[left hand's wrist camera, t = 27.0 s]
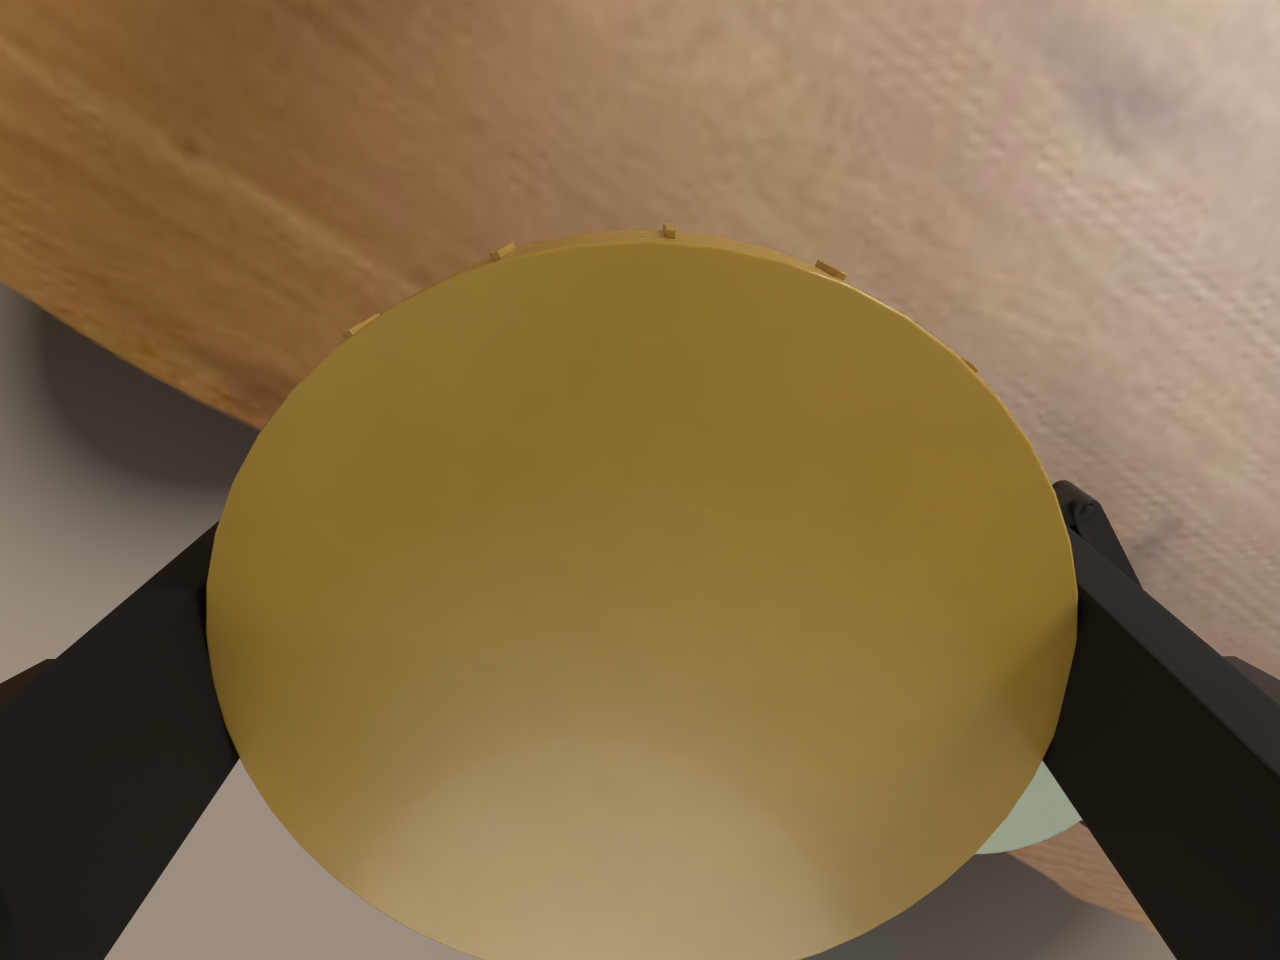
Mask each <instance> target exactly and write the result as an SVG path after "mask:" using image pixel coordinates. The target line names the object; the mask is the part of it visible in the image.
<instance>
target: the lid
mask: <svg viewBox="0 0 1280 960" xmlns="http://www.w3.org/2000/svg"><path fill="white" fill-rule="evenodd" d="M490 256H491V257H490V258H487V259H484V260H481V261H479V262H476V263H473V264H471V265H470V266H468V267H466V268H464V269H462V270H460V271H458V272H456V273H454V274H452V275H450V276H448V277H446V278H444V279H442V280H440V281H438V282H436V283H434V284H432V285H430V286H428V287H426V288H424V289H423V290H421V291H419V292H417V293H416V294H414V295H412V296H410V297H409V298H407V299H405V300H403V301H402V302H400V303H398V304H396V305H395V306H393V307H391V308H389V309H388V310H387V311H385V312H384V313H382V314H381V315H379V314H378V313H377V314H375V315H374V316H372V317H370V318H368V319H367V320H365V321H363V322H361V323H359V324H358V325H356V326H354V327H352V328H351V329H349V330H347V331H346V332H345V333H344V334H343V336H344V337H345V338H346V340H344V341H343V342H342V343H340V344H339V345H337V346H336V347H335V348H334V349H333V350H332V351H331V352H330V353H329V354H328V355H327V356H326V357H325V358H324V359H323V360H322V361H321V362H320V363H319V364H318V365H317V366H316V367H315V368H314V369H313V370H311V371H310V372H309V373H308V374H307V375H306V376H305V377H304V378H303V379H302V380H301V381H300V382H299V383H298V384H297V385H296V386H295V387H294V388H293V389H292V391H291V392H290V393H289V395H288V396H287V397H286V399H285V400H284V401H283V403H282V404H281V405H280V406H279V408H278V409H277V410H276V412H275V413H274V414H273V416H272V417H271V418H270V420H269V421H268V422H267V424H266V425H265V426H264V427H263V429H262V430H261V431H260V433H259V435H258V436H257V438H256V440H255V442H254V444H253V446H252V447H251V450H250V451H249V453H248V455H247V457H246V459H245V461H244V463H243V464H242V466H241V468H240V470H239V472H238V474H237V475H236V477H235V479H234V481H233V483H232V486H231V489H230V492H229V495H228V498H227V501H226V504H225V506H224V509H223V512H222V515H221V518H220V521H219V524H218V527H217V529H216V533H215V538H214V544H213V550H212V555H211V561H210V567H209V573H208V578H207V585H206V639H207V646H208V653H209V660H210V667H211V672H212V676H213V681H214V685H215V689H216V693H217V697H218V701H219V705H220V709H221V712H222V715H223V719H224V722H225V726H226V729H227V731H228V733H229V735H230V737H231V739H232V742H233V744H234V746H235V748H236V750H237V752H238V755H239V757H240V759H241V761H242V763H243V765H244V768H245V770H246V771H247V773H248V775H249V776H250V778H251V779H252V781H253V783H254V784H255V786H256V787H257V789H258V791H259V792H260V794H261V795H262V797H263V798H264V800H265V802H266V803H267V805H268V806H269V808H270V809H271V811H272V812H273V813H274V814H275V816H276V817H277V818H278V819H279V820H280V822H281V823H282V824H283V825H284V826H285V828H286V829H287V830H288V831H289V832H290V834H291V835H292V836H293V837H294V839H295V840H296V841H297V842H298V843H299V844H300V846H301V847H302V848H303V849H304V850H305V851H307V852H308V853H309V854H310V855H311V856H312V857H313V858H314V859H315V860H316V861H317V862H318V863H319V864H320V865H321V866H322V867H323V868H324V869H326V870H327V871H328V872H329V873H330V874H331V875H332V876H333V877H334V878H335V879H336V880H338V881H339V882H340V883H342V884H343V885H344V886H346V887H347V888H348V889H350V890H351V891H352V892H354V893H355V894H356V895H358V896H359V897H360V898H362V899H363V900H364V901H366V902H367V903H368V904H370V905H371V906H372V907H374V908H376V909H378V910H379V911H381V912H383V913H384V914H386V915H388V916H389V917H391V918H393V919H394V920H396V921H398V922H399V923H401V924H403V925H404V926H406V927H408V928H409V929H411V930H413V931H415V932H417V933H420V934H422V935H424V936H426V937H428V938H430V939H433V940H435V941H437V942H439V943H441V944H443V945H445V946H448V947H450V948H452V949H454V950H457V951H460V952H462V953H465V954H468V955H471V956H474V957H477V958H480V959H483V960H801V959H804V958H807V957H810V956H813V955H816V954H819V953H822V952H824V951H826V950H828V949H831V948H833V947H835V946H837V945H840V944H842V943H844V942H847V941H849V940H851V939H853V938H856V937H858V936H860V935H862V934H864V933H866V932H868V931H870V930H871V929H873V928H875V927H877V926H878V925H880V924H882V923H884V922H886V921H887V920H889V919H891V918H893V917H894V916H896V915H898V914H899V913H901V912H903V911H905V910H906V909H907V908H909V907H910V906H912V905H913V904H914V903H916V902H917V901H919V900H920V899H921V898H923V897H924V896H925V895H927V894H928V893H930V892H931V891H932V890H934V889H935V888H937V887H938V886H939V885H941V884H942V883H943V882H944V881H945V880H947V879H948V878H949V877H950V876H951V875H952V874H953V873H954V872H955V871H957V870H958V869H959V868H960V867H961V866H962V865H963V864H964V863H965V862H966V861H968V860H969V859H970V858H971V857H972V856H973V855H974V854H975V853H976V852H977V851H978V850H979V849H980V848H981V847H982V846H983V844H984V843H985V842H986V841H987V840H988V839H989V838H990V836H991V835H992V834H993V833H994V832H995V831H996V830H997V828H998V827H999V826H1000V825H1001V824H1002V823H1003V821H1004V820H1005V819H1006V818H1007V817H1008V815H1009V814H1010V812H1011V811H1012V809H1013V808H1014V806H1015V805H1016V803H1017V802H1018V800H1019V799H1020V797H1021V796H1022V794H1023V793H1024V791H1025V790H1026V788H1027V787H1028V786H1029V784H1030V783H1031V781H1032V780H1033V778H1034V776H1035V774H1036V772H1037V770H1038V768H1039V766H1040V764H1041V762H1042V760H1043V758H1044V756H1045V754H1046V752H1047V750H1048V748H1049V746H1050V744H1051V742H1052V739H1053V737H1054V734H1055V730H1056V727H1057V723H1058V719H1059V715H1060V711H1061V707H1062V702H1063V698H1064V694H1065V689H1066V685H1067V681H1068V677H1069V672H1070V668H1071V664H1072V660H1073V655H1074V651H1075V646H1076V641H1077V625H1078V590H1077V583H1076V576H1075V569H1074V562H1073V555H1072V548H1071V541H1070V538H1069V535H1068V532H1067V529H1066V525H1065V522H1064V519H1063V516H1062V512H1061V509H1060V506H1059V503H1058V500H1057V496H1056V493H1055V491H1054V489H1053V487H1052V485H1051V483H1050V481H1049V478H1048V476H1047V474H1046V472H1045V470H1044V468H1043V466H1042V464H1041V462H1040V460H1039V458H1038V456H1037V454H1036V452H1035V450H1034V448H1033V446H1032V444H1031V442H1030V441H1029V440H1028V438H1027V437H1026V435H1025V434H1024V432H1023V431H1022V430H1021V428H1020V427H1019V425H1018V424H1017V423H1016V421H1015V420H1014V418H1013V417H1012V416H1011V414H1010V413H1009V411H1008V410H1007V409H1006V407H1005V406H1004V404H1003V403H1002V402H1001V400H1000V399H999V397H998V396H997V395H996V394H995V393H994V392H993V391H992V390H991V389H990V388H989V387H988V386H987V385H986V384H985V383H984V382H983V381H982V380H981V379H980V378H979V377H978V375H977V374H976V372H977V371H978V369H977V368H976V367H975V366H974V365H973V364H971V363H970V362H968V361H966V360H965V359H963V358H961V357H960V356H958V355H957V354H956V353H955V352H954V351H952V350H951V349H950V348H948V347H947V346H946V345H944V344H943V343H942V342H940V341H939V340H938V339H936V338H935V337H934V336H932V335H931V334H930V333H928V332H927V331H926V330H924V329H923V328H922V327H920V326H919V325H918V324H916V323H915V322H914V321H912V320H911V319H910V318H909V317H907V316H906V315H904V314H903V313H901V312H899V311H897V310H895V309H894V308H892V307H890V306H888V305H887V304H885V303H883V302H881V301H880V300H878V299H876V298H874V297H872V296H871V295H869V294H867V293H865V292H863V291H862V290H860V289H858V288H856V287H854V286H852V285H851V284H849V283H847V282H845V281H844V279H845V277H846V273H844V272H842V271H840V270H838V269H836V268H834V267H833V266H831V265H829V264H827V263H825V262H823V261H821V260H818V261H817V263H816V265H815V266H814V265H812V264H809V263H806V262H804V261H801V260H798V259H796V258H793V257H790V256H788V255H785V254H782V253H780V252H777V251H774V250H772V249H769V248H766V247H763V246H758V245H754V244H749V243H745V242H740V241H736V240H731V239H727V238H723V237H718V236H714V235H709V234H700V233H688V232H676V230H675V228H674V226H673V224H672V223H664V225H663V230H651V229H642V230H624V231H606V232H588V233H583V234H578V235H573V236H568V237H562V238H557V239H552V240H547V241H542V242H537V243H532V244H528V245H525V246H522V247H519V248H516V249H515V246H514V243H513V242H510V243H507V244H505V245H503V246H501V247H500V248H498V249H496V250H495V251H493V252H491V253H490Z"/></svg>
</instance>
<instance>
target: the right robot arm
mask: <svg viewBox="0 0 1280 960" xmlns="http://www.w3.org/2000/svg"><path fill="white" fill-rule="evenodd" d="M1052 487H1053V489H1054V491H1055V493H1056V496H1057V500H1058V503H1059V506H1060V509H1061V512H1062V516H1063V519H1064V522H1065V524H1066V525H1067V526H1068V527H1070V528H1071V529H1072V530H1073V531H1074V532H1075V533H1077V534H1078V535H1079V536H1080V537H1081V538H1083V539H1084V540H1085V541H1086V542H1087V543H1088V544H1090V545H1091V546H1092V547H1093V548H1094V549H1096V550H1097V551H1098V552H1099V553H1100V554H1101V555H1103V556H1104V557H1105V558H1106V559H1107V560H1109V561H1110V562H1111V563H1112V564H1113V565H1114V566H1116V567H1117V568H1118V569H1119V570H1120V571H1122V572H1123V573H1124V574H1125V575H1126V576H1127V577H1129V578H1130V579H1131V580H1132V581H1133V582H1135V583H1136V584H1137V585H1138V586H1139V587H1140V588H1142V586H1141V584H1140V582H1139V580H1138V578H1137V576H1136V574H1135V572H1134V570H1133V568H1132V566H1131V564H1130V562H1129V560H1128V559H1127V557H1126V555H1125V553H1124V551H1123V549H1122V547H1121V545H1120V543H1119V541H1118V539H1117V537H1116V535H1115V533H1114V531H1113V529H1112V527H1111V525H1110V523H1109V521H1108V519H1107V517H1106V515H1105V513H1104V511H1103V509H1102V507H1101V505H1100V504H1099V502H1098V501H1096V500H1095V499H1093V498H1092V497H1090V496H1089V495H1088V494H1086V493H1085V492H1083V491H1082V490H1080V489H1079V488H1078V487H1076V486H1075V485H1073V484H1072V483H1070V482H1068V481H1066V480H1061V481H1058V482H1056V483H1054V484H1053V485H1052ZM1142 589H1143V588H1142ZM1079 822H1080V823H1081V824H1082V825H1084V826H1085V827H1087V826H1086V824H1085V823H1084V821H1083V820H1082V821H1079ZM1087 828H1088V827H1087Z"/></svg>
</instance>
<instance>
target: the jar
mask: <svg viewBox="0 0 1280 960" xmlns="http://www.w3.org/2000/svg"><path fill="white" fill-rule="evenodd" d="M1079 821H1082V818H1081V817H1080V815H1079V814H1078V812H1077V811H1076V809H1075V808H1074V806H1073V805H1072V803H1071V802H1070V801H1069V799H1068V798H1067V796H1066V795H1065V793H1064V792H1063V790H1062V789H1061V787H1060V786H1059V784H1058V783H1057V781H1056V780H1055V778H1054V777H1053V775H1052V774H1051V772H1050V771H1049V769H1048V768H1047V766H1046V765H1045V763H1044V762H1043V761H1042V762H1041V764H1040V766H1039V768H1038V770H1037V772H1036V774H1035V776H1034V778H1033V780H1032V781H1031V783H1030V784H1029V786H1028V787H1027V788H1026V790H1025V791H1024V793H1023V794H1022V796H1021V797H1020V799H1019V800H1018V802H1017V803H1016V805H1015V806H1014V808H1013V809H1012V811H1011V812H1010V814H1009V815H1008V817H1007V818H1006V819H1005V820H1004V821H1003V823H1002V824H1001V825H1000V826H999V827H998V828H997V830H996V831H995V832H994V833H993V834H992V835H991V836H990V838H989V839H988V840H987V841H986V842H985V843H984V844H983V846H982V847H981V848H980V849H979V850H978V851H977V852H976V853H975V854H989V853H999V852H1005V851H1010V850H1016V849H1019V848H1023V847H1026V846H1030V845H1033V844H1036V843H1039V842H1041V841H1044V840H1046V839H1049V838H1051V837H1053V836H1055V835H1057V834H1059V833H1061V832H1063V831H1065V830H1067V829H1068V828H1070V827H1071V826H1073V825H1074V824H1076V823H1078V822H1079Z"/></svg>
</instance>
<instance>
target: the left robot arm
mask: <svg viewBox="0 0 1280 960" xmlns="http://www.w3.org/2000/svg"><path fill="white" fill-rule="evenodd" d="M219 521H220V520H219ZM219 521H218V522H217V523H216V524H215V525H213V526H212V527H211V528H210V529H209V530H207V531H206V532H205V533H204V534H203V535H202V536H200V537H199V538H198V539H197V540H196V541H195V542H193V543H192V544H191V545H190V546H189V547H187V548H186V549H185V550H184V551H183V552H181V553H180V554H179V555H178V556H177V557H176V558H174V559H173V560H172V561H171V562H170V563H168V564H167V565H166V566H165V567H164V568H163V569H161V570H160V571H159V572H158V573H157V574H155V575H154V576H153V577H152V578H151V579H150V580H148V581H147V582H146V583H145V584H144V585H143V586H141V587H140V588H139V589H138V590H137V591H135V592H134V593H133V594H132V595H131V596H129V597H128V598H127V599H126V600H125V601H124V602H122V603H121V604H120V605H119V606H118V607H116V608H115V609H114V610H113V611H112V612H111V613H109V614H108V615H107V616H106V617H105V618H103V619H102V620H101V621H100V622H99V623H98V624H96V625H95V626H94V627H93V628H92V629H90V630H89V631H88V632H87V633H86V634H85V635H83V636H82V637H81V638H80V639H79V640H77V641H76V642H75V643H74V644H73V645H72V646H70V647H69V648H68V649H67V650H66V651H64V652H63V653H62V654H61V655H60V656H59V657H57V658H56V659H46V660H44V661H42V662H40V663H39V664H37V665H35V666H33V667H31V668H29V669H27V670H25V671H23V672H21V673H20V674H18V675H16V676H14V677H12V678H10V679H8V680H6V681H5V682H3V683H1V684H0V960H104V958H105V957H106V955H107V954H108V953H109V951H110V950H111V948H112V947H113V945H114V944H115V942H116V941H117V939H118V938H119V936H120V935H121V933H122V932H123V930H124V929H125V927H126V926H127V924H128V923H129V921H130V920H131V918H132V917H133V915H134V914H135V912H136V911H137V909H138V908H139V906H140V905H141V904H142V902H143V901H144V899H145V898H146V896H147V895H148V893H149V892H150V890H151V889H152V887H153V886H154V884H155V883H156V881H157V880H158V878H159V877H160V875H161V874H162V872H163V871H164V869H165V868H166V866H167V865H168V864H169V862H170V861H171V859H172V858H173V856H174V855H175V853H176V852H177V850H178V849H179V847H180V846H181V844H182V843H183V841H184V840H185V838H186V837H187V835H188V834H189V832H190V831H191V829H192V828H193V827H194V825H195V824H196V822H197V820H198V819H199V818H200V816H201V815H202V813H203V812H204V810H205V809H206V807H207V806H208V804H209V803H210V801H211V800H212V798H213V797H214V795H215V794H216V792H217V791H218V789H219V788H220V786H221V785H222V784H223V782H224V781H225V779H226V778H227V776H228V774H229V773H230V772H231V770H232V769H233V767H234V766H235V764H236V763H237V761H238V760H239V758H240V757H239V755H238V752H237V750H236V748H235V746H234V744H233V742H232V739H231V737H230V735H229V733H228V731H227V729H226V726H225V722H224V719H223V715H222V712H221V709H220V705H219V701H218V697H217V693H216V689H215V685H214V681H213V676H212V672H211V667H210V660H209V653H208V646H207V639H206V585H207V578H208V573H209V567H210V561H211V555H212V550H213V544H214V538H215V533H216V529H217V527H218V524H219ZM1065 525H1066V524H1065ZM1066 529H1067V532H1068V535H1069V538H1070V541H1071V548H1072V555H1073V562H1074V569H1075V576H1076V583H1077V590H1078V625H1077V641H1076V646H1075V651H1074V655H1073V660H1072V664H1071V668H1070V672H1069V677H1068V681H1067V685H1066V689H1065V694H1064V698H1063V702H1062V707H1061V711H1060V715H1059V719H1058V723H1057V727H1056V730H1055V734H1054V737H1053V739H1052V742H1051V744H1050V746H1049V748H1048V750H1047V752H1046V754H1045V756H1044V758H1043V760H1042V761H1043V762H1044V763H1045V765H1046V766H1047V768H1048V769H1049V771H1050V772H1051V774H1052V775H1053V777H1054V778H1055V780H1056V781H1057V783H1058V784H1059V786H1060V787H1061V789H1062V790H1063V792H1064V793H1065V795H1066V796H1067V798H1068V799H1069V801H1070V802H1071V803H1072V805H1073V806H1074V808H1075V809H1076V811H1077V812H1078V814H1079V815H1080V817H1081V818H1082V820H1083V821H1084V823H1085V824H1086V826H1087V827H1088V829H1089V830H1090V832H1091V833H1092V835H1093V836H1094V838H1095V839H1096V841H1097V842H1098V844H1099V845H1100V846H1101V848H1102V849H1103V851H1104V852H1105V854H1106V855H1107V857H1108V858H1109V860H1110V861H1111V863H1112V864H1113V866H1114V867H1115V869H1116V870H1117V872H1118V873H1119V875H1120V876H1121V878H1122V879H1123V881H1124V882H1125V884H1126V885H1127V887H1128V888H1129V889H1130V891H1131V892H1132V894H1133V895H1134V897H1135V898H1136V900H1137V901H1138V903H1139V904H1140V906H1141V907H1142V909H1143V910H1144V912H1145V913H1146V915H1147V916H1148V918H1149V919H1150V921H1151V922H1152V924H1153V925H1154V927H1155V928H1156V929H1157V931H1158V932H1159V934H1160V935H1161V937H1162V938H1163V940H1164V941H1165V943H1166V944H1167V946H1168V947H1169V949H1170V950H1171V952H1172V953H1173V955H1174V956H1175V958H1176V959H1177V960H1280V680H1279V679H1277V678H1275V677H1273V676H1271V675H1269V674H1267V673H1265V672H1263V671H1262V670H1260V669H1258V668H1256V667H1254V666H1252V665H1250V664H1248V663H1246V662H1244V661H1243V660H1241V659H1239V658H1237V657H1235V656H1221V655H1220V654H1219V653H1217V652H1216V651H1215V650H1214V649H1213V648H1211V647H1210V646H1209V645H1208V644H1207V643H1206V642H1204V641H1203V640H1202V639H1201V638H1200V637H1198V636H1197V635H1196V634H1195V633H1194V632H1193V631H1191V630H1190V629H1189V628H1188V627H1187V626H1185V625H1184V624H1183V623H1182V622H1181V621H1180V620H1178V619H1177V618H1176V617H1175V616H1174V615H1172V614H1171V613H1170V612H1169V611H1168V610H1166V609H1165V608H1164V607H1163V606H1162V605H1161V604H1159V603H1158V602H1157V601H1156V600H1155V599H1153V598H1152V597H1151V596H1150V595H1149V594H1148V593H1146V592H1145V591H1144V590H1143V589H1142V588H1140V587H1139V586H1138V585H1137V584H1136V583H1135V582H1133V581H1132V580H1131V579H1130V578H1129V577H1127V576H1126V575H1125V574H1124V573H1123V572H1122V571H1120V570H1119V569H1118V568H1117V567H1116V566H1114V565H1113V564H1112V563H1111V562H1110V561H1109V560H1107V559H1106V558H1105V557H1104V556H1103V555H1101V554H1100V553H1099V552H1098V551H1097V550H1096V549H1094V548H1093V547H1092V546H1091V545H1090V544H1088V543H1087V542H1086V541H1085V540H1084V539H1083V538H1081V537H1080V536H1079V535H1078V534H1077V533H1075V532H1074V531H1073V530H1072V529H1071V528H1070V527H1068V526H1067V525H1066Z"/></svg>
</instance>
